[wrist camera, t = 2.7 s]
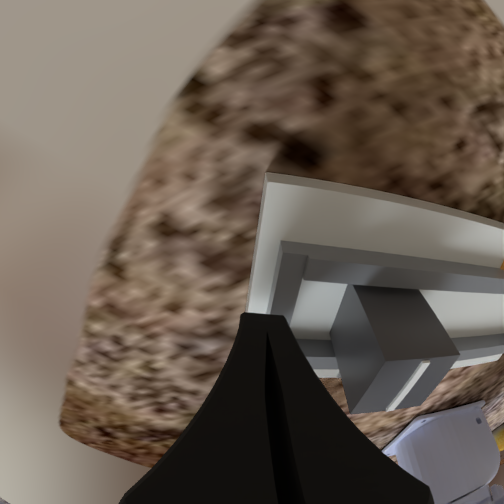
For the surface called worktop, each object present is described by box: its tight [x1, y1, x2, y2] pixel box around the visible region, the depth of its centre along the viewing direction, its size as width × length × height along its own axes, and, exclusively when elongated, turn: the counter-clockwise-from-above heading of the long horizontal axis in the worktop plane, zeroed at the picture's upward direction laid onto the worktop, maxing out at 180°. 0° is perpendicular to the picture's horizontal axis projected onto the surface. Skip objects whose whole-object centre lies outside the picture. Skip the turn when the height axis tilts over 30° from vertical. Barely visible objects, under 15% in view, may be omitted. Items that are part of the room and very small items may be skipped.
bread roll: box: [492, 424, 504, 451], centre depth 27 cm, size 8×9×4 cm
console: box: [245, 172, 504, 378], centre depth 12 cm, size 18×9×2 cm, turn 83°
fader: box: [329, 284, 460, 414], centre depth 10 cm, size 3×3×4 cm
